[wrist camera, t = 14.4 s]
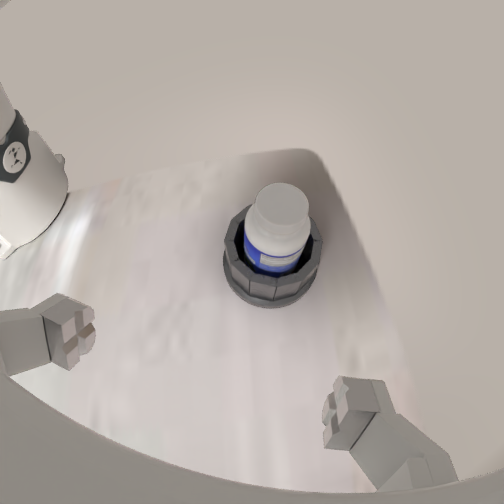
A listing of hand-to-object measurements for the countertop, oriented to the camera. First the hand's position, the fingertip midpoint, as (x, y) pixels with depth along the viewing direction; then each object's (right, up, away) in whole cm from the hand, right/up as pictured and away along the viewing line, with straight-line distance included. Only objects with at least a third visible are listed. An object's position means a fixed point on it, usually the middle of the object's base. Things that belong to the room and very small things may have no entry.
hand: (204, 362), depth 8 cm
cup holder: (+3, +2, +22) cm, 23 cm away
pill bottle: (+3, +3, +22) cm, 22 cm away
